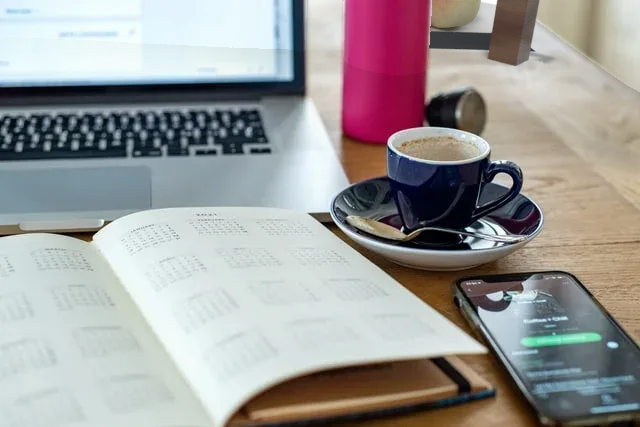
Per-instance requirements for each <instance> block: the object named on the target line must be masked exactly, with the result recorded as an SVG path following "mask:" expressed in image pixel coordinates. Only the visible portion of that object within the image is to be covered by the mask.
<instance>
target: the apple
mask: <svg viewBox="0 0 640 427" xmlns="http://www.w3.org/2000/svg"><path fill="white" fill-rule="evenodd" d="M481 3H482V1H481V0H432V16H431V24H430V25H431V26H433V27H435V28H437V29H445V28H446V29H447V28H454V27H460V26H465V25H467V24H470V23H471V22H472V21H474V20H475V18H476V17H477V15H478V13H479V11H480V7H481Z"/></svg>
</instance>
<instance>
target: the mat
mask: <svg viewBox="0 0 640 427" xmlns="http://www.w3.org/2000/svg"><path fill="white" fill-rule="evenodd" d="M430 31H431V32H430V45H429V49H431V50H438V49H439V50H464V51H466V50H467V51H489V47H490V41H491V35H492V32H477V31H475V32H473V31H446V30H445V31H444V30H443V31H442V30H430ZM429 49H428V50H429ZM530 52H535V53H536V50H534V49H533V47H531V49H530Z"/></svg>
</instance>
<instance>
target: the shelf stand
mask: <svg viewBox="0 0 640 427" xmlns="http://www.w3.org/2000/svg"><path fill="white" fill-rule="evenodd" d="M539 5H540V0H496V6H495V10H494V18H493V23H492V29H491V33H492V35H491V41H490V47H489V50H488V54H487V60H490V61H493V62H498V63H501V64H505V65H510V66H513V67H517V66H519V65H521V64H523V63H525V62H528V61H529V58H530V54H531V51H530V49H531V48H532V43H533V38H534V31H535V26H536V21H537V17H538V16H537V15H538V10H539Z"/></svg>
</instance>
